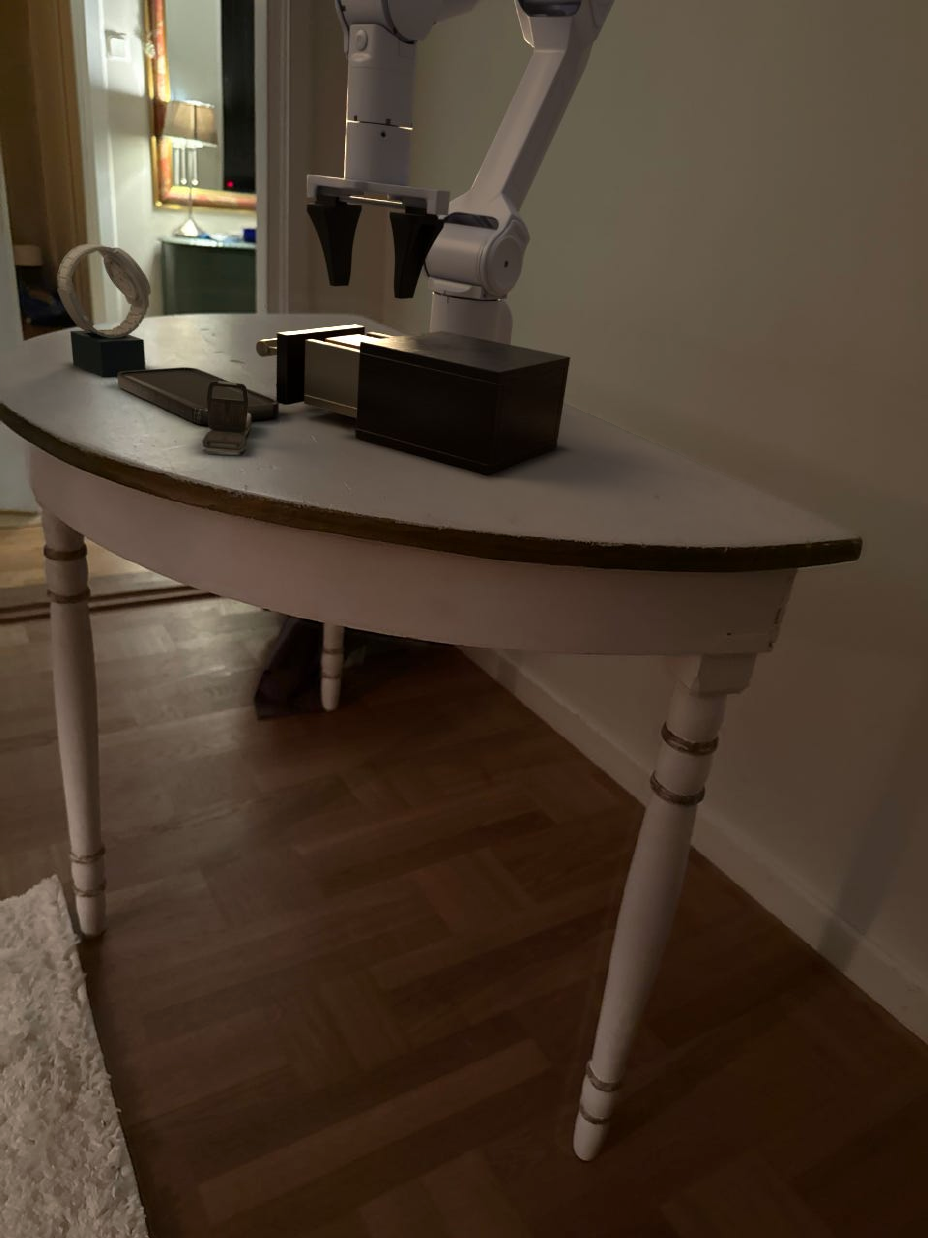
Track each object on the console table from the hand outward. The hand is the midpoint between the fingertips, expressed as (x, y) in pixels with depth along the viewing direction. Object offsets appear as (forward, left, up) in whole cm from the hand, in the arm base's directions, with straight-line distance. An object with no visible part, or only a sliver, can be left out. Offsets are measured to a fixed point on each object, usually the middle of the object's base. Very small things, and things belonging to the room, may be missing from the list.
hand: (370, 291), depth 82 cm
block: (+8, +6, -7) cm, 12 cm away
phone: (+16, -6, -9) cm, 20 cm away
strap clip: (+22, +4, -9) cm, 24 cm away
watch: (+14, -20, -10) cm, 26 cm away
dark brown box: (+8, +16, -9) cm, 20 cm away
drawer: (+8, +4, -9) cm, 12 cm away
